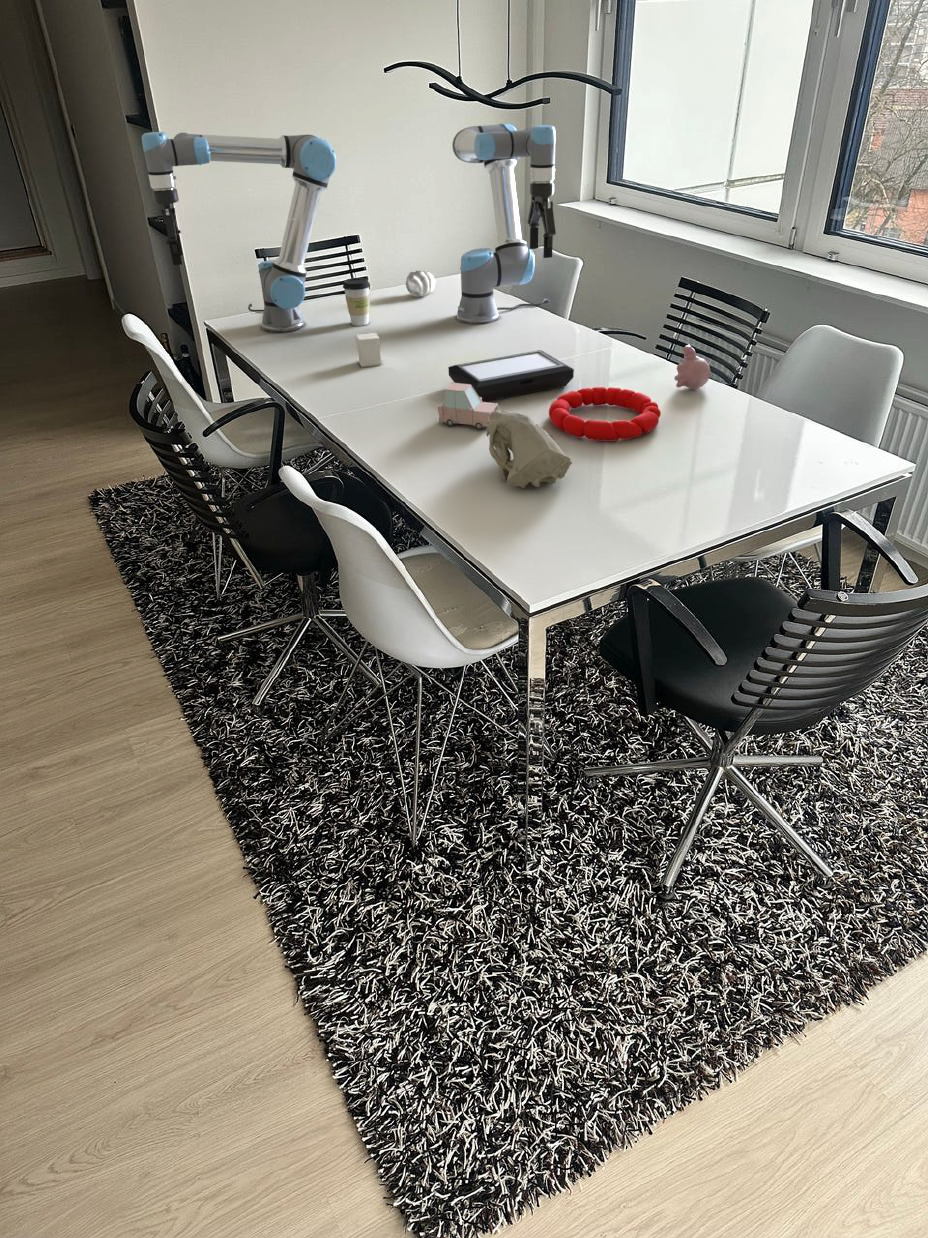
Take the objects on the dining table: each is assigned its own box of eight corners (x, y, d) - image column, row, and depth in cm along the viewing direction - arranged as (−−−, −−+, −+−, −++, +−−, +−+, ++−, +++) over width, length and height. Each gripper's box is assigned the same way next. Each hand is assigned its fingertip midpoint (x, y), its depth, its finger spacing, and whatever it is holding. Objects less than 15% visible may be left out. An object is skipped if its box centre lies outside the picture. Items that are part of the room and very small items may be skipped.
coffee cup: (372, 326, 323) (368, 283, 314) (345, 327, 323) (340, 284, 315) (374, 318, 331) (371, 276, 322) (348, 319, 331) (344, 277, 323)
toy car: (488, 432, 240) (488, 396, 234) (436, 426, 244) (434, 390, 239) (499, 419, 247) (499, 384, 241) (448, 413, 252) (447, 379, 246)
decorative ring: (589, 435, 224) (684, 402, 234) (527, 398, 247) (617, 369, 256) (589, 461, 229) (683, 427, 238) (529, 422, 251) (617, 393, 260)
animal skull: (496, 517, 219) (521, 479, 201) (463, 429, 225) (484, 384, 207) (557, 503, 225) (586, 465, 206) (523, 417, 231) (549, 373, 212)
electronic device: (476, 384, 253) (448, 364, 268) (476, 405, 256) (449, 384, 271) (574, 366, 263) (541, 347, 278) (573, 386, 266) (541, 367, 281)
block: (361, 366, 287) (358, 339, 282) (358, 361, 292) (356, 334, 287) (381, 364, 289) (379, 337, 284) (378, 359, 293) (376, 332, 288)
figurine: (665, 387, 264) (669, 347, 257) (693, 380, 268) (698, 340, 261) (686, 396, 257) (690, 355, 250) (714, 388, 262) (720, 348, 255)
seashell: (399, 296, 356) (397, 270, 350) (432, 290, 362) (431, 264, 356) (410, 301, 348) (409, 275, 343) (444, 295, 354) (443, 269, 349)
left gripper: (175, 194, 269) (189, 267, 281) (177, 181, 289) (190, 250, 301) (149, 195, 268) (165, 269, 280) (153, 183, 288) (167, 252, 300)
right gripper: (567, 186, 270) (565, 260, 282) (540, 174, 290) (538, 243, 302) (544, 188, 269) (542, 262, 281) (518, 176, 289) (517, 245, 301)
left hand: (178, 259), depth 290 cm, fingers open, 13 cm apart
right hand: (540, 252), depth 291 cm, fingers open, 13 cm apart
